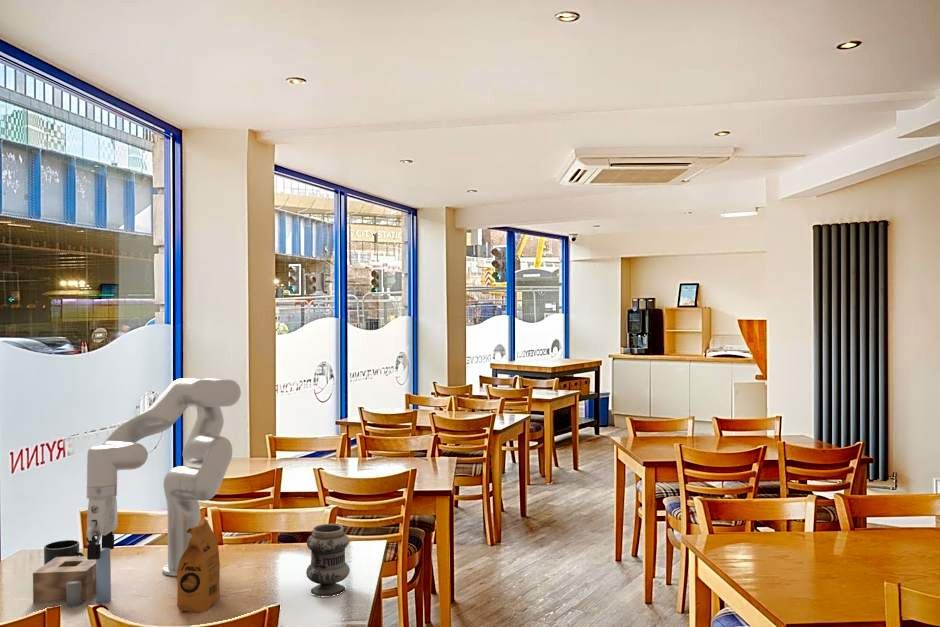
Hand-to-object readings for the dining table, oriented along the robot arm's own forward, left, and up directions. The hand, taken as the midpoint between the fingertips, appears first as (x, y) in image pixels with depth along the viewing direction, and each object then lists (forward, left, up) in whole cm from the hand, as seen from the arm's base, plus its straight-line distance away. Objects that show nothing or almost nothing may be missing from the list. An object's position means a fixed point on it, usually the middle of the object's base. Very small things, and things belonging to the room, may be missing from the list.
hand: (100, 554), depth 210 cm
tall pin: (0, -1, -13) cm, 13 cm away
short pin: (+7, +1, -13) cm, 15 cm away
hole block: (+12, -9, -13) cm, 19 cm away
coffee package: (-27, +5, -13) cm, 31 cm away
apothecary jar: (-61, -1, -13) cm, 63 cm away
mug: (+20, -25, -13) cm, 34 cm away
